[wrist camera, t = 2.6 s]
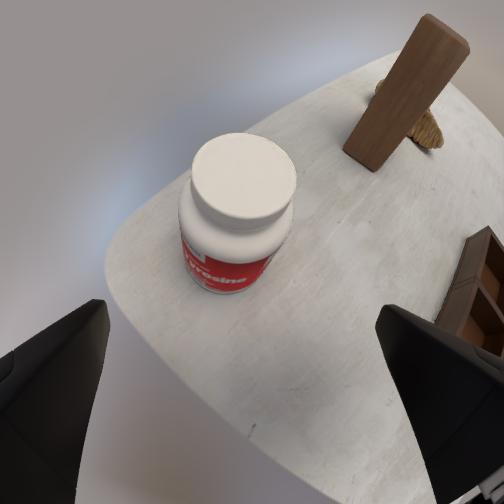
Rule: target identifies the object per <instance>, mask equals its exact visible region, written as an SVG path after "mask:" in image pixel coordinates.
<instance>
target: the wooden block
mask: <svg viewBox="0 0 504 504" xmlns="http://www.w3.org/2000/svg"><path fill="white" fill-rule="evenodd" d="M469 53H470V48H469V45H468V42H467V41H466V40H465V39H464V38H463V37H461V36H460V35H459V34H458V33H456V32H455V31H454V30H452V29H451V28H449V27H448V26H447V25H446V24H444V23H443V22H441V21H440V20H438V19H437V18H435V17H434V16H432V15H431V14H426V15H424V16H423V17H422V18H421V19H420V21H419V23H418V24H417V26H416V28H415V30H414V31H413V33H412V35H411V36H410V38H409V40H408V41H407V43H406V45H405V46H404V48H403V50H402V52H401V53H400V55H399V57H398V58H397V60H396V62H395V63H394V65H393V67H392V68H391V70H390V72H389V73H388V75H387V77H386V78H385V80H384V82H383V83H382V85H381V87H380V88H379V90H378V91H377V93H376V95H375V96H374V98H373V100H372V101H371V103H370V105H369V106H368V108H367V109H366V111H365V113H364V114H363V116H362V117H361V119H360V121H359V122H358V124H357V126H356V127H355V129H354V130H353V132H352V134H351V135H350V137H349V138H348V140H347V142H346V143H345V145H344V149H343V150H344V151H345V152H347V153H348V154H350V155H351V156H352V157H354V158H355V159H357V160H358V161H359V162H361V163H362V164H363V165H365V166H366V167H367V168H369V169H370V170H371V171H373V172H376V171H377V170H378V169H379V168H380V167H381V166H382V165H383V163H384V162H385V161H386V160H387V159H388V157H389V156H390V155H391V154H392V153H393V151H394V150H395V149H396V148H397V147H398V145H399V144H400V143H401V142H402V140H403V139H404V138H405V137H406V136H407V134H408V133H409V132H410V131H411V129H412V128H413V127H414V126H415V124H416V123H417V122H418V121H419V119H420V118H421V117H422V116H423V114H424V113H425V112H426V110H427V109H428V108H429V107H430V105H431V104H432V103H433V102H434V100H435V99H436V98H437V96H438V95H439V94H440V92H441V91H442V90H443V89H444V87H445V86H446V85H447V83H448V82H449V81H450V79H451V78H452V77H453V75H454V74H455V73H456V71H457V70H458V69H459V67H460V66H461V64H462V63H463V62H464V60H465V59H466V57H467V56H468V55H469Z"/></svg>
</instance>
